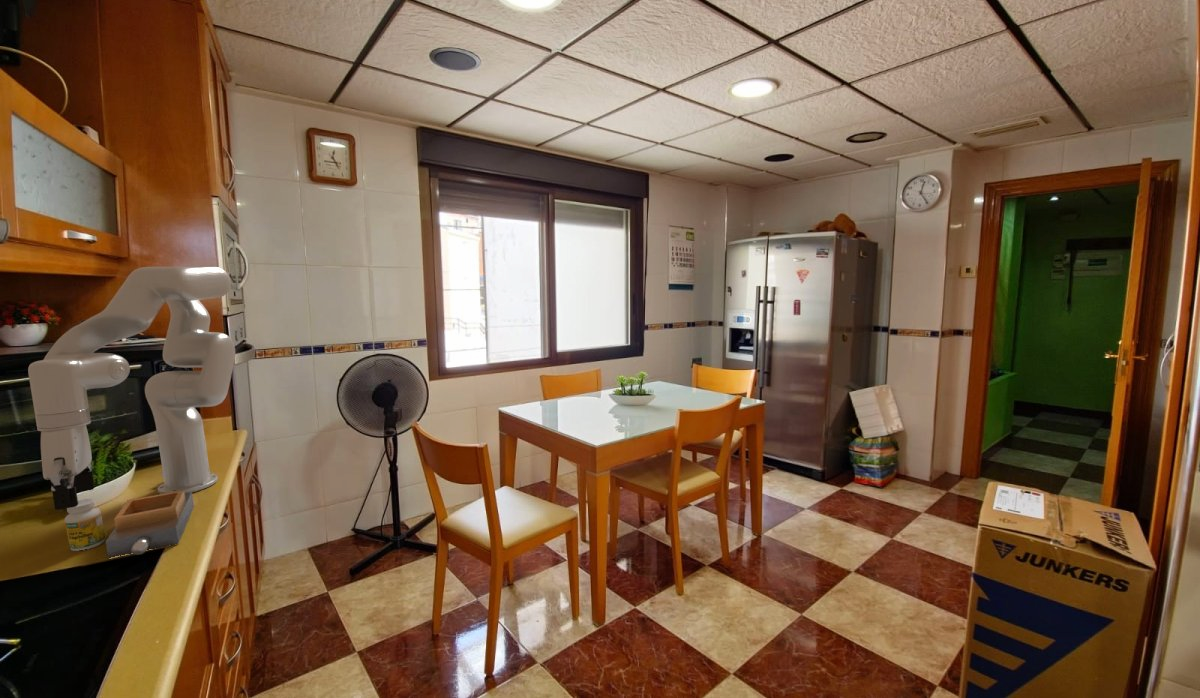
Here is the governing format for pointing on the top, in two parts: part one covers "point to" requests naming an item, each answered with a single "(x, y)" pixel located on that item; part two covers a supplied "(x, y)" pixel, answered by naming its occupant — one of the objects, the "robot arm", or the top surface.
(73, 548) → the supplement bottle
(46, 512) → the top surface
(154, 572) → the top surface
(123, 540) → the gray brown rimmed box
